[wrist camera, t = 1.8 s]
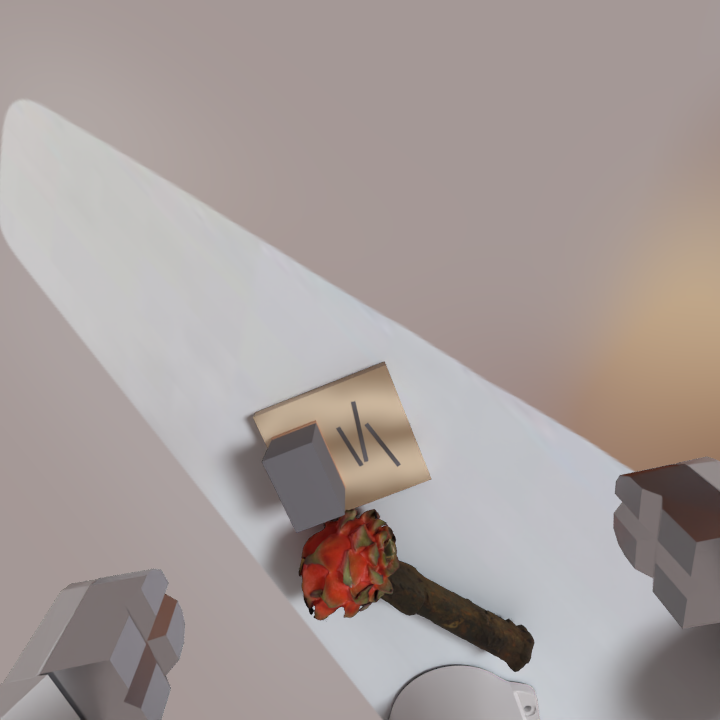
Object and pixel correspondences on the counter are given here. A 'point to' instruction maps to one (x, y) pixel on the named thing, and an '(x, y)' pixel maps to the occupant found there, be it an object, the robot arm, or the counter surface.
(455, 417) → the counter surface
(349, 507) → the pine board
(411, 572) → the dark brown rough rod
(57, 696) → the robot arm
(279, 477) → the block
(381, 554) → the dragon fruit
